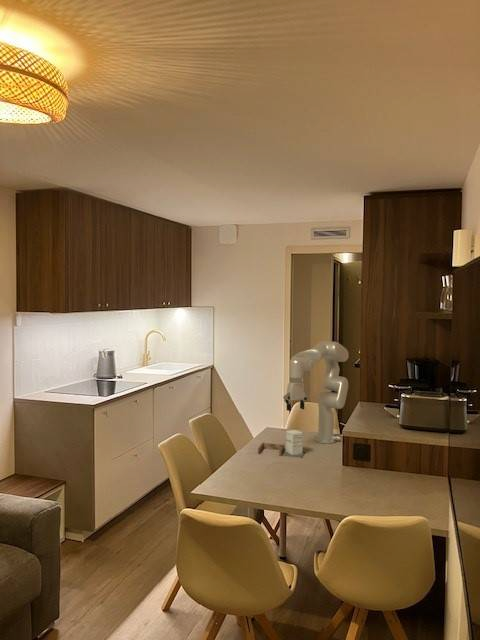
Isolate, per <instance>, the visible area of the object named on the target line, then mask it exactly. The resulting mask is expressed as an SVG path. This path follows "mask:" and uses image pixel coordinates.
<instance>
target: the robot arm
mask: <svg viewBox="0 0 480 640" xmlns="http://www.w3.org/2000/svg"><path fill="white" fill-rule="evenodd" d="M349 354H350V353H349V351H348V349H347V348H346V347H344V346H343V345H342V344H340V342H338V341H330V340H328V341H327V340H322V341H320V342H319V343H318V344H315V346H314V347H312V348H310V349H307V350H303V351H300V352H298V353H296V354H294V355H293V356H292V357H291V358H290V360H289V382H288V384H287V387H286V388H287V389H286V394H285V395H283V397H282V398H283V401H284V402H285V404H286V411H287V412H291V411H292V401H299V409H301V410H305V403H306V401H307V399H308V397H309V394H308V393H306V392H305V384H304V380H305V378H304V372H309V371H311V370H313V368H314V365H315V362H320V361H322V360H324V362H325V367H326V368H325V373H324V379H323V384H322V386H323V388H324V389H326V391H320V392H319V393H318V395H317V405H318V430H317V432H318V433H317V437H316V438H315V442H317V443H320V444H329V445H330V444H334V443H336V440H339V441H341V436H339V435H335V433H334V423H335V422H334V421H335V412H334V410H333V409H337V410H341V409H343V408H345V407H344V406H345V404H346V399H347V395H348V390H349V381H348V379H347V377H344V376H339V375H340V371H341V370H340V366H339V364H338V362H341V363H343V362H344V363H345V362H346V361H348V359H349ZM327 390H328V391H327ZM332 391H333V392H332ZM334 391H335V392H334ZM336 392H337V393H336Z"/></svg>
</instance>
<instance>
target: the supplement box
mask: <svg viewBox="0 0 480 640" xmlns="http://www.w3.org/2000/svg"><path fill="white" fill-rule="evenodd" d="M303 442H304V433H303V432H302V431H299V430H298V429H291V430H286V432H285V451H286V452H287V453H289V454H291V455H298V454H302V451H303V449H304V448H303V447H304V446H303V444H304V443H303Z"/></svg>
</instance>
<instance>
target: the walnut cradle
mask: <svg viewBox="0 0 480 640" xmlns="http://www.w3.org/2000/svg"><path fill="white" fill-rule="evenodd" d="M264 449H268V450H276V451H279V453H278V454H279V457H282V456H283V454H284V453H285V451H286V444H282V443H281V444H279V443H268V442H262V443H261V444H260V446H259V447H258V448H257V455H260V454H261V453H262V451H263V450H264Z"/></svg>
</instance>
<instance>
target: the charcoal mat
mask: <svg viewBox="0 0 480 640" xmlns="http://www.w3.org/2000/svg"><path fill="white" fill-rule="evenodd" d="M305 452H306V451H305V450H302V454H298V455H291V454H289V453H287V452H286V450H284V452H283V454H282V456H283V457H290V456H291V458H302V457H304V455H305Z"/></svg>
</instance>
